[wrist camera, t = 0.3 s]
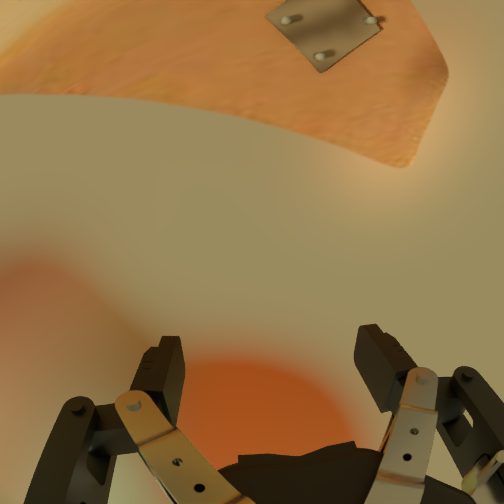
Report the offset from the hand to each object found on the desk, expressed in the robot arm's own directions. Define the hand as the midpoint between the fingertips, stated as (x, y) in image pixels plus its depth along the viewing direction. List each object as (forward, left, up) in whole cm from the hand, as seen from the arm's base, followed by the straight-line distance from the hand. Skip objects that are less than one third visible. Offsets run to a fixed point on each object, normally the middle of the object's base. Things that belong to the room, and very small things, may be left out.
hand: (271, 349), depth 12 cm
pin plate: (-5, +20, -30) cm, 36 cm away
